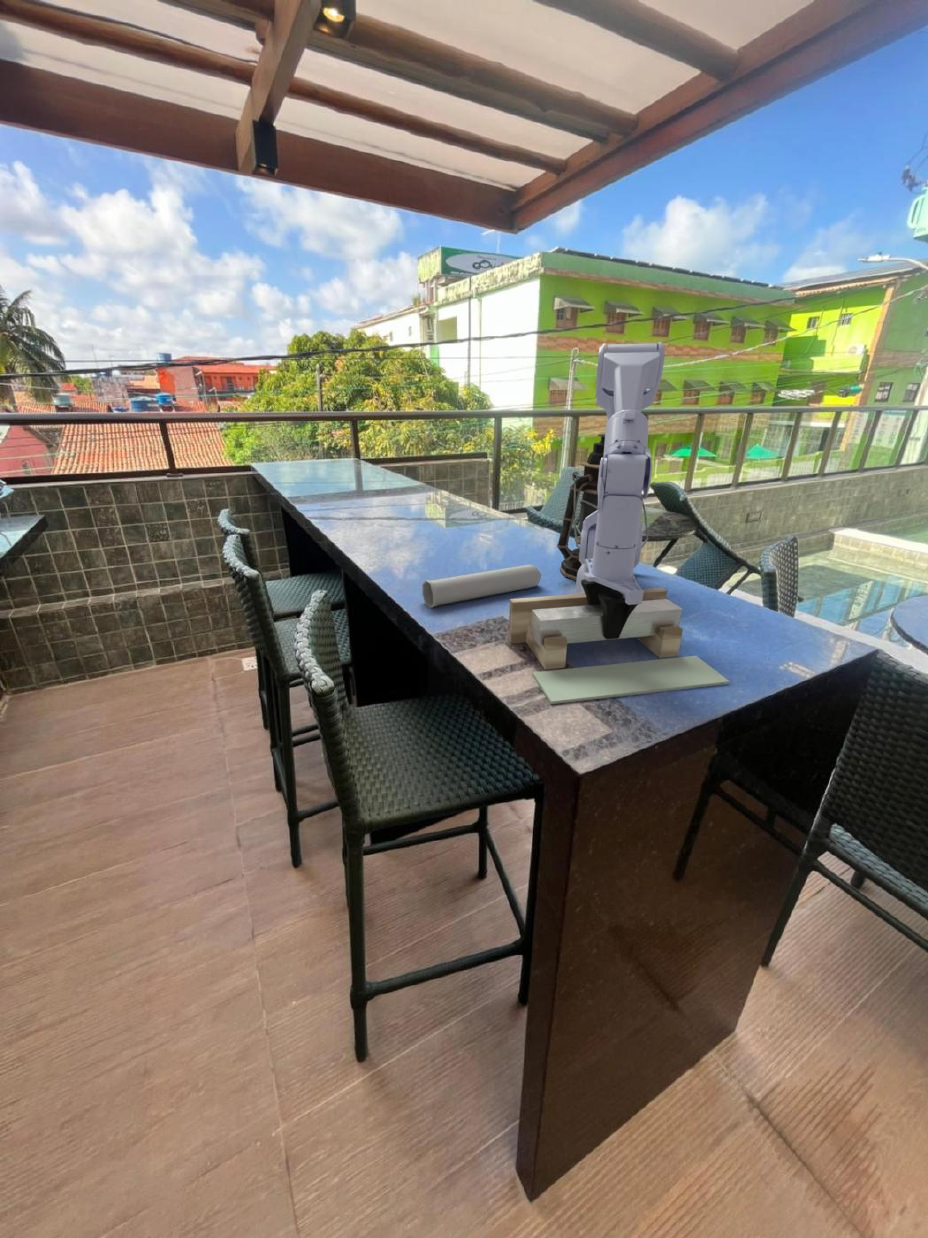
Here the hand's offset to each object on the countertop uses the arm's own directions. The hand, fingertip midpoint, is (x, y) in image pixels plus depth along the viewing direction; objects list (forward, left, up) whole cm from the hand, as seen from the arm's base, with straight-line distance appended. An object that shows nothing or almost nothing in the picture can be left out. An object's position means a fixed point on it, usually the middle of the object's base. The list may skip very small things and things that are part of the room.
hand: (604, 631), depth 76 cm
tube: (-27, -12, -4) cm, 30 cm away
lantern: (-35, +15, -4) cm, 38 cm away
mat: (+9, 0, -3) cm, 9 cm away
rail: (0, 0, 0) cm, 0 cm away
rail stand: (-2, 0, -3) cm, 4 cm away
